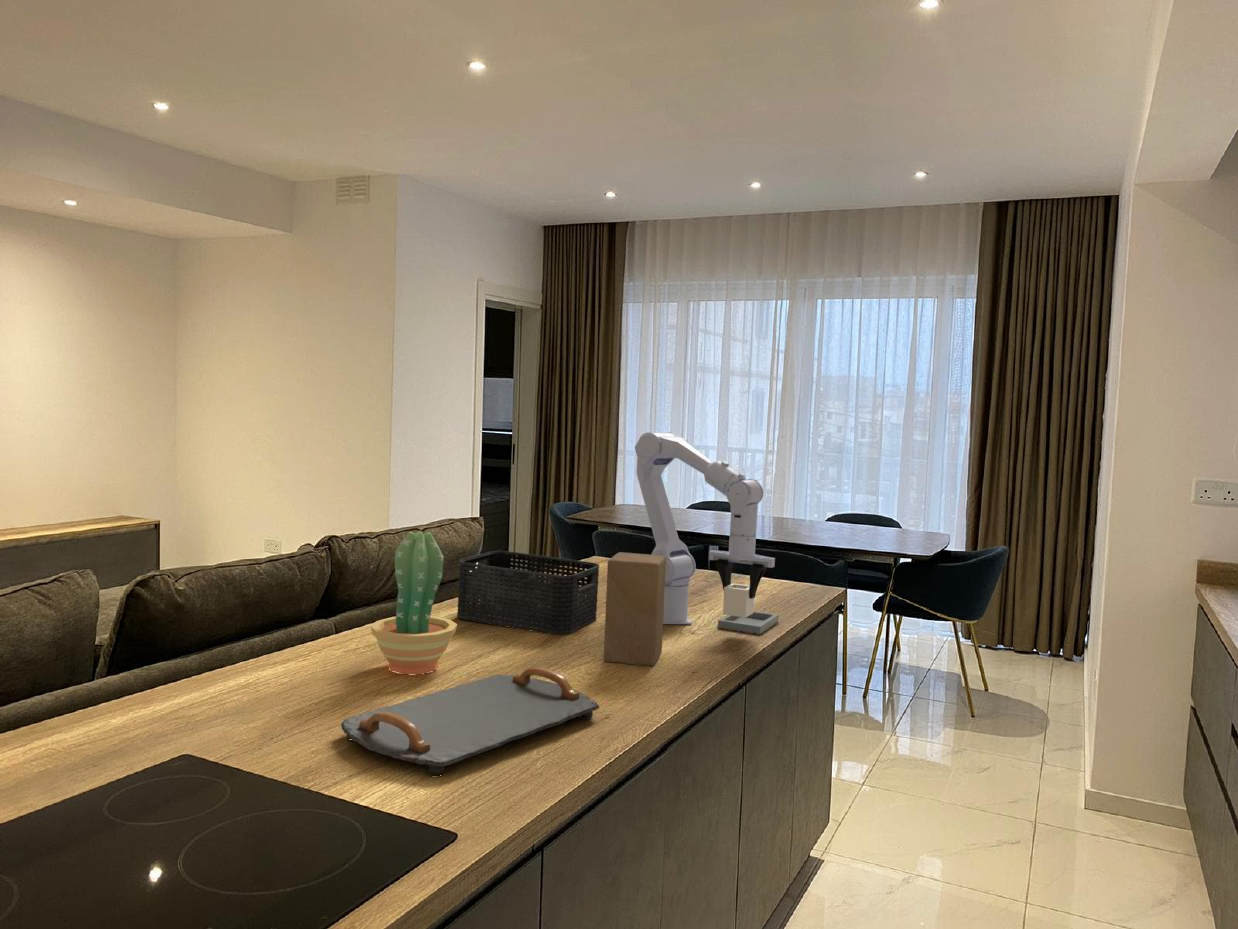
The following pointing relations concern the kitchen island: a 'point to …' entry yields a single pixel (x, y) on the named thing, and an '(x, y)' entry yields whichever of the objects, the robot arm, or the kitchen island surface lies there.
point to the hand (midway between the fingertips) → (739, 595)
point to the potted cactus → (415, 609)
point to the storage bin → (528, 592)
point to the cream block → (737, 601)
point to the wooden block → (634, 608)
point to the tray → (749, 622)
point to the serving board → (469, 718)
